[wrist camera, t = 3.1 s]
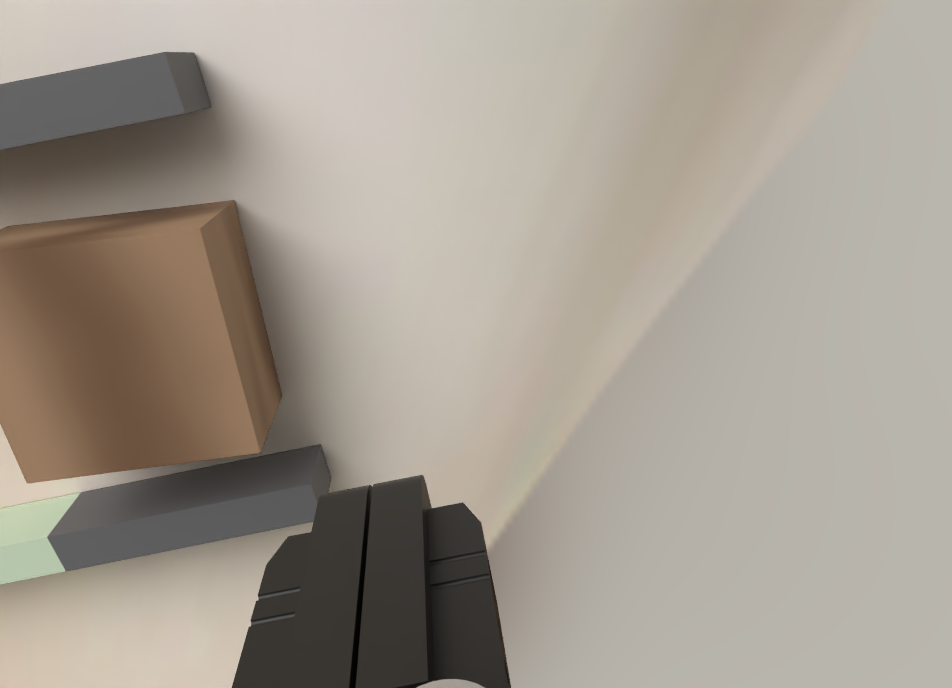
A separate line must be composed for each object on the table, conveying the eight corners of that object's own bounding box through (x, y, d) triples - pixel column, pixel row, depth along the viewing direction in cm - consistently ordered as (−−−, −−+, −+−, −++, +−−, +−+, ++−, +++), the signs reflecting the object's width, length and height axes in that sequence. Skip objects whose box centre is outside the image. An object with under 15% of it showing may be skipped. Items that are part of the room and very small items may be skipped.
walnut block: (236, 198, 21) (200, 228, 18) (283, 392, 24) (260, 452, 20) (12, 224, 21) (-72, 260, 17) (86, 417, 24) (27, 483, 20)
